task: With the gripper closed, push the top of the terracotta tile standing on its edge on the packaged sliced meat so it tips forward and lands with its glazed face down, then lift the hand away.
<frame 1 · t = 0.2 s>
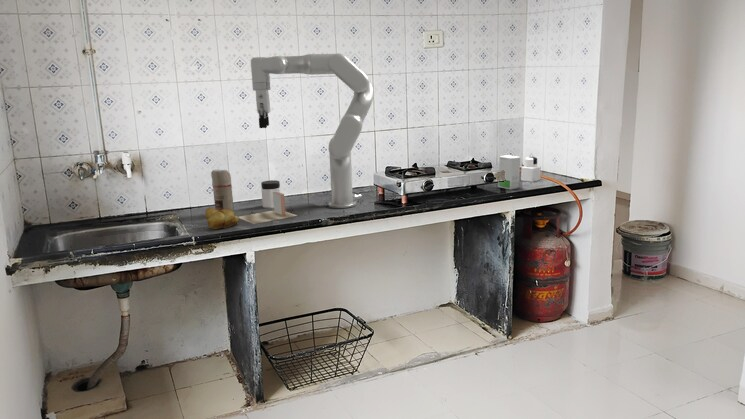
hand: (264, 126, 269), 37 cm above the counter, tool pointing down, fingers open, 9 cm apart
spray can: (224, 214, 269), on the counter
tile: (279, 213, 262), point 1 cm above the counter, touching packaged sliced meat
skincare box: (509, 188, 304), on the counter
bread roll: (223, 227, 249), on the counter
medicine bottle: (530, 180, 320), on the counter
packaged sliced meat: (267, 219, 258), on the counter
jar: (272, 208, 278), on the counter
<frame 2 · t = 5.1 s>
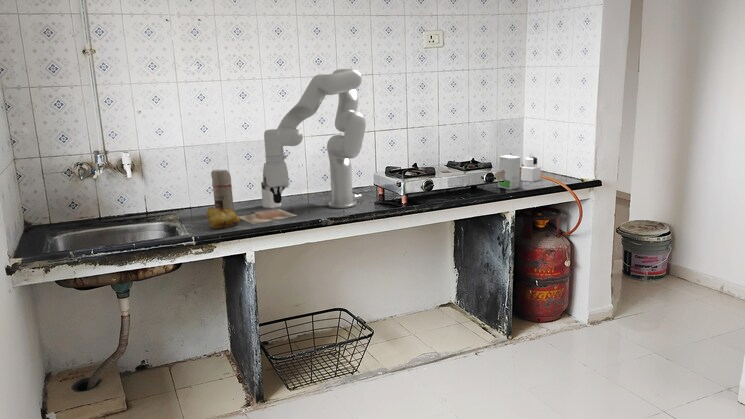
hand: (277, 202, 260), 6 cm above the counter, tool pointing down, fingers closed
tile: (277, 212, 261), point 2 cm above the counter, tilted 90°, touching packaged sliced meat
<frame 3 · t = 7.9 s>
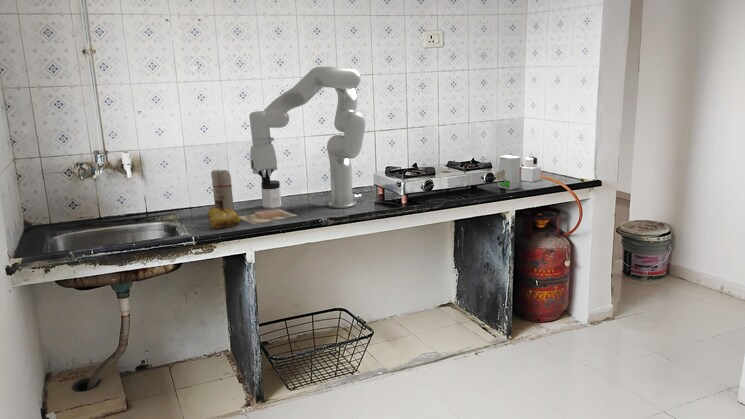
hand: (266, 185, 256), 14 cm above the counter, tool pointing down, fingers closed
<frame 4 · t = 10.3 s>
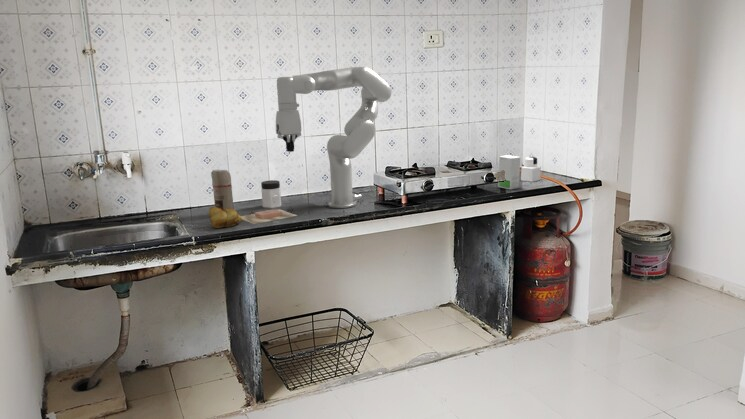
hand: (290, 151, 259), 27 cm above the counter, tool pointing down, fingers closed
at the end: tile tilted 90°; tile 1.6 cm from the target spot, point 2.0 cm above the counter; tile touching packaged sliced meat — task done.
